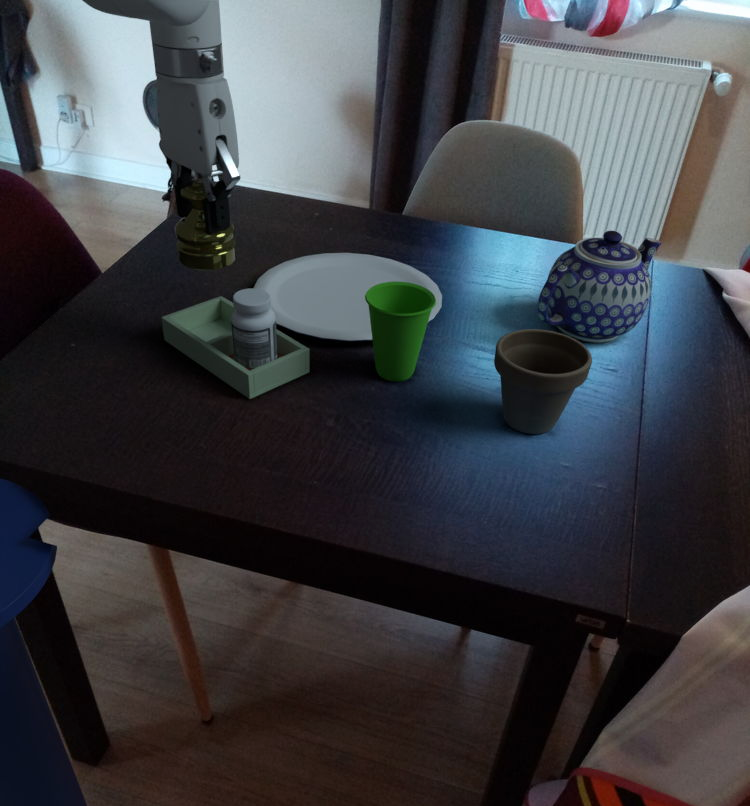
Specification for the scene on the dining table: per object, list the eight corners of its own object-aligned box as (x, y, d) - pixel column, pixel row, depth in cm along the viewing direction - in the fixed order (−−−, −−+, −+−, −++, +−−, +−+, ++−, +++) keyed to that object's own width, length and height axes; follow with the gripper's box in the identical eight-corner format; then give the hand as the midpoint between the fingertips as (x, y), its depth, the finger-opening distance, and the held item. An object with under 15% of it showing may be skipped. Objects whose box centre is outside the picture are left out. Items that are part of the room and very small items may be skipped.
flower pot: (510, 384, 105) (523, 317, 99) (588, 415, 101) (607, 346, 94) (467, 423, 98) (478, 353, 91) (549, 458, 93) (567, 387, 87)
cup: (348, 367, 107) (350, 293, 99) (397, 348, 111) (403, 275, 104) (391, 397, 102) (397, 321, 94) (441, 375, 106) (450, 301, 99)
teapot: (565, 371, 109) (590, 271, 99) (494, 325, 118) (510, 229, 108) (680, 327, 120) (712, 233, 111) (607, 288, 129) (630, 198, 119)
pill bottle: (249, 349, 107) (245, 282, 101) (285, 361, 106) (283, 292, 99) (226, 369, 103) (220, 299, 97) (262, 380, 102) (259, 311, 95)
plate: (387, 370, 106) (388, 359, 105) (213, 313, 116) (212, 303, 115) (470, 289, 126) (472, 280, 125) (316, 247, 136) (316, 237, 135)
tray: (249, 399, 100) (248, 375, 97) (164, 340, 110) (160, 316, 107) (309, 372, 105) (309, 348, 103) (223, 318, 115) (221, 295, 113)
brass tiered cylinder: (246, 253, 103) (241, 176, 97) (220, 276, 98) (213, 195, 91) (195, 243, 105) (188, 167, 98) (167, 265, 100) (157, 185, 93)
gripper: (264, 72, 84) (270, 236, 96) (173, 42, 93) (189, 195, 105) (206, 82, 80) (220, 252, 92) (117, 49, 89) (140, 208, 101)
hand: (203, 220), depth 98 cm, fingers closed on brass tiered cylinder, 5 cm apart
